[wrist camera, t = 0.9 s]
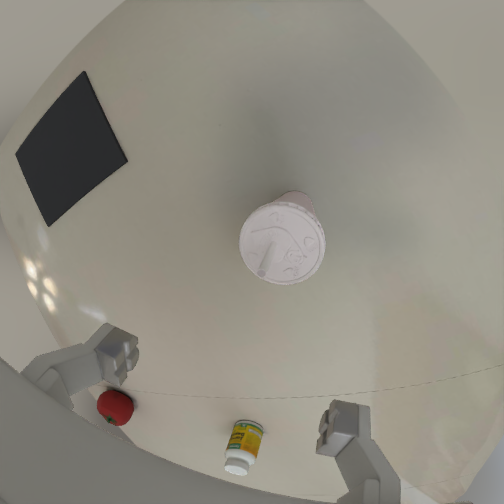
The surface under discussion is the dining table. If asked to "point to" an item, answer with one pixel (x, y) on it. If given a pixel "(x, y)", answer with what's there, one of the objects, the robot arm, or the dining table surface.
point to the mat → (69, 151)
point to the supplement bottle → (243, 447)
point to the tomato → (115, 407)
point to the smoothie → (283, 240)
